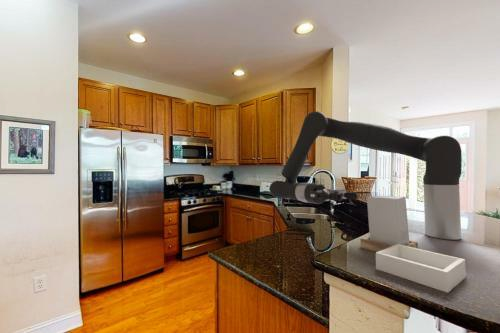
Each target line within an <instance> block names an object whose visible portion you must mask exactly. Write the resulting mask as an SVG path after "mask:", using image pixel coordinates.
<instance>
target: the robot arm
mask: <svg viewBox="0 0 500 333" xmlns="http://www.w3.org/2000/svg"><path fill="white" fill-rule="evenodd" d="M302 122H303V123H302V125H301V129H300V132H299V135H298V137H297V140H296V143H295V145H294V147H293V149H292V151H291V153H290V155H289V157H288V158H287V161H286V162H285V164H284V166H283V168H282V171H281V176H282V177H283V178H284V179H285V180H284V181H283V180H275V181H272V182H271V184H270V185H269V189H268V190H269V193H270V194H271V196H272V197H275V198H280V199H283V200H284V199H285V200H287V199H290V200H293V201H300V202H303V203H307V204H308V203H309V204H316V205H321V204H323V203H324V202H329V201H335V202H342V201H343V200H347V199H348V200H353V201H354V200H358V198H359V197H358V192H350V191H349V190H340V189H332V188H326V187H325V185H323V184H322V183H316V182H315V183H314V182H297V179H298V177H299V175H300V173H301V171H302V169H303V168H304V165H305V163H306V160H307V157H308V154H309V151H310V150H311V148H312V146H313V144H314V142H315V141H316V140H317V138H318V137H322V138H323V137H324V138H325V137H326V138H330V139H331V138H332V139H336V140H337V139H338V140H341V141H343V142H346V143H349V144H352V145H355V146H358V147H361V148H366V149H370V150H375V151H379V152H385V153H393V154H400V155H404V156H408V157H410V158H413V159H415V160H420V161H421V162H425V170H424V171H425V172H424V175H423V178H422V181H423V182H422V183H423V206H424V207H423V208H424V211H423V212H424V234H425V235H426V236H427V237H431V238H436V239H441V240H451V241H452V240H454V241H455V240H461V239H462V227H461V226H462V224H461V223H462V222H461V219H462V218H461V201H460V200H461V198H460V197H461V196H460V193H461V192H460V179H461V176H462V165H463V164H462V160H463V159H462V147H461V144H460V143H459V141H458V140H457V139H456V138H455V137H452V136H449V135H437V136H435V137H421V136H415V135H409V134H407V133H403V132H401V131H398V130H396V129H395V128H392V127H389V126H385V125H382V124H377V123H371V122H365V121H364V122H363V121H344V120H339V119H334V118H331V117H328V116H326V115H325V114H324V113H323V112H320V111H312V112H309V113H308V114H307V115H306V116H305V117H304V120H303V121H302Z"/></svg>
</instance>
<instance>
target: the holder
mask: <svg viewBox="0 0 500 333" xmlns="http://www.w3.org/2000/svg"><path fill="white" fill-rule="evenodd" d="M359 240H360V248H361V249H365V250H369V251H373V252H375V253H376V252H378V251H381V250H384V249H386V248H389V247H391V246H394V245H390V244H385V243H381V242H377V241H373V240H370V235H367V236H365V237H361V238H360V239H359ZM404 246H409V247H413V248H417V249H419V242H418V241H413V240H409V244H406V245H404Z"/></svg>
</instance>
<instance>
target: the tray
mask: <svg viewBox="0 0 500 333" xmlns="http://www.w3.org/2000/svg"><path fill="white" fill-rule="evenodd" d="M375 269H376V270H377V271H381V272H385V273H388V274H389V275H394V276H397V277H399V278H402V279H404V280H405V279H406V280H409V281H412V282H414V283H417V284H420V285H422V286H425V287H430V288H432V289H435V290H438V291H441V292H444V293H447V294H449V292H451V291H452V290H453V289H454V288H455V287H456V286H457V285H458V284H459V283H461V282H462V281H463V280H465V279H466V278H467V275H466V272H467V271H466V270H467V269H466V259H464V258H460V257H456V256H452V255H447V254H443V253H438V252H434V251H430V250H427V249H421V248H418V249H417V248H413V247H409V246H404V245H400V244H397V245H394V246H391V247H389V248H386V249H384V250H381V251H378V252H376V251H375Z"/></svg>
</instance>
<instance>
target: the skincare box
mask: <svg viewBox="0 0 500 333" xmlns="http://www.w3.org/2000/svg"><path fill="white" fill-rule="evenodd" d="M406 198H407V197H406V196H400V195H399V196H396V195H395V196H393V195H373V196H368V197H366V202H367V205H366V206H367V218H368V220H367V221H368V229H369V231H368V233H369V236H370V240H373V241H377V242H381V243H385V244H390V245H397V244H400V245H406V244H409V241H410V234H409V222H408V220H409V219H408V212H407V211H408V210H407V199H406Z"/></svg>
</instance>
